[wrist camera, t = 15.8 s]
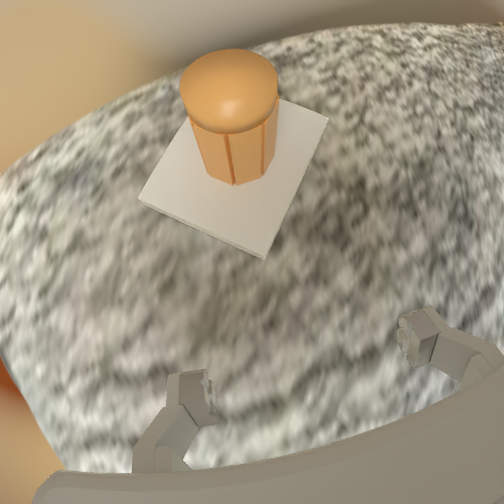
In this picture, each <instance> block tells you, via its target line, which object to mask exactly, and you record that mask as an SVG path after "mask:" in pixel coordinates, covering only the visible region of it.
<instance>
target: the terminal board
mask: <svg viewBox="0 0 504 504" xmlns="http://www.w3.org/2000/svg"><path fill="white" fill-rule="evenodd" d="M328 121H329V118H328V117H326V116H324V115H321V114H319V113H316V112H314V111H312V110H309V109H307V108H304V107H301V106H299V105H296V104H294V103H291V102H288V101H286V100H283V99H280V98H279V111H278V122H277V132H276V143H275V153H274V157H273V159H272V161H271V163H270V165H269V166H268V168H267V170H266V172H265V174H264V176H263V175H261V178H259V179H256V180H253V181H250V182H247V183H244V184H241V185H238V186H236V183H234V184H233V186H232V185H230V184H227V183H225V182H223V181H220V180H218V179H215V178H213V177H211V176H210V175H209V174H207V171H206V168H205V165H204V162H203V159H202V156H201V153H200V150H199V147H198V144H197V141H196V138H195V135H194V132H193V130H192V127H191V124H190V121H189V118H188V117H187V118H186V120H185V121H184V123H183V124H182V126H181V127H180V129H179V130H178V132H177V133H176V135H175V137H174V138H173V140H172V141H171V143H170V144H169V146H168V148H167V149H166V151H165V152H164V154H163V156H162V157H161V159H160V160H159V162H158V164H157V165H156V167H155V169H154V170H153V172H152V174H151V175H150V177H149V179H148V181H147V182H146V184H145V186H144V188H143V189H142V191H141V193H140V195H139V196H138V199H139V200H140V201H141V202H142V203H143V204H144V205H145V206H148V207H150V208H152V209H154V210H156V211H158V212H161V213H163V214H165V215H167V216H169V217H171V218H174V219H176V220H178V221H180V222H182V223H184V224H186V225H189V226H191V227H193V228H195V229H197V230H199V231H202V232H204V233H206V234H208V235H210V236H212V237H215V238H217V239H219V240H221V241H223V242H226V243H228V244H230V245H232V246H234V247H236V248H239V249H241V250H243V251H245V252H247V253H249V254H252V255H254V256H256V257H258V258H260V259H262V260H265V259H266V257H267V255H268V253H269V251H270V249H271V246H272V244H273V242H274V240H275V238H276V236H277V234H278V231H279V229H280V227H281V225H282V223H283V221H284V219H285V216H286V214H287V212H288V210H289V208H290V206H291V203H292V201H293V199H294V197H295V195H296V193H297V190H298V188H299V186H300V184H301V182H302V180H303V177H304V175H305V173H306V171H307V169H308V166H309V164H310V162H311V160H312V158H313V155H314V153H315V151H316V149H317V147H318V144H319V142H320V140H321V138H322V136H323V133H324V131H325V129H326V126H327V123H328Z"/></svg>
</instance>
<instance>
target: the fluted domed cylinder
mask: <svg viewBox="0 0 504 504" xmlns="http://www.w3.org/2000/svg"><path fill="white" fill-rule="evenodd" d="M277 87H278V76H277V73H276V70H275V68H274V67H273V65H272V64H271V63H270V62H269V61H268V60H267V59H265V58H264V57H262V56H261V55H259V54H257V53H254V52H251V51H247V50H242V49H224V50H218V51H214V52H211V53H208V54H206V55H204V56H202V57H200V58H198V59H197V60H195V61H194V62H193V63H192V64H191V65H190V66H189V67H188V68H187V69H186V71H185V72H184V74H183V76H182V78H181V81H180V93H181V97H182V100H183V103H184V106H185V109H186V111H187V115H188V118H189V121H190V124H191V127H192V130H193V132H194V135H195V138H196V141H197V144H198V147H199V150H200V153H201V156H202V159H203V162H204V165H205V168H206V171H207V174H209V175H210V176H211V177H213V178H215V179H218V180H220V181H223V182H225V183H227V184H230V185H232V186H233V184H234V183H236V186H238V185H241V184H244V183H247V182H250V181H253V180H256V179H259V178H261V175H263V176H264V174H265V172H266V170H267V168H268V166H269V165H270V163H271V161H272V159H273V157H274V153H275V143H276V132H277V122H278V111H279V95H278V93H277Z"/></svg>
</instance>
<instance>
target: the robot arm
mask: <svg viewBox="0 0 504 504" xmlns="http://www.w3.org/2000/svg"><path fill="white" fill-rule="evenodd" d="M398 323H399V325H400V328H399V329H398V330H397V341H398V344H399V347H400V348H401V350H402V351H404V352H406V353H407V360H408V361H409V363H410V365H411V366H412V368H413V369H414V368H417V367H420V366H422V365H425V364H427V363H430V364H431V365H433V366H435V367H436V368H438V369H440V370H441V371H443V372H445V373H446V374H448V375H450V376H451V377H453V378H455V379H456V380H458V381H460V384H459V386H458V388H457V390H456V393H455V394H453V395H451V396H449V397H447V398H445V399H443V400H441V401H439V402H437V403H435V404H433V405H431V406H428V407H426V408H424V409H422V410H420V411H417V412H415V413H413V414H410V415H408V416H406V417H403V418H401V419H399V420H396V421H394V422H391V423H388V424H386V425H383V426H381V427H378V428H375V429H373V430H370V431H367V432H364V433H361V434H358V435H355V436H352V437H349V438H346V439H343V440H340V441H337V442H333V443H330V444H327V445H323V446H320V447H316V448H312V449H309V450H305V451H301V452H297V453H293V454H289V455H284V456H280V457H275V458H270V459H266V460H260V461H255V462H250V463H244V464H238V465H231V466H224V467H217V468H209V469H200V470H192V469H191V468H190V467H189V466H188V465H187V464H186V463H185V462H184V461H183V460H182V459H183V457H184V456H185V454H186V452H187V450H188V448H189V446H190V444H191V442H192V441H193V439H194V437H195V435H196V433H197V431H198V429H199V428H198V427H204V426H210V425H215V424H218V412H217V409H216V407H215V403H216V402H217V401H216V393H215V389H214V386H213V383H212V381H211V380H209V379H208V373H207V371H206V369H201V370H194V371H188V372H181V373H175V374H169V376H168V380H167V399H166V407H163V408H162V409H161V411H160V412H159V413H158V415H157V416H156V418H155V419H154V420H153V422H152V423H151V424H150V426H149V427H148V428H147V430H146V431H145V432H144V434H143V435H142V436H141V438H140V439H139V440H138V442H137V443H136V445H135V446H134V447H133V460H132V473H94V472H79V471H68V470H58V471H56V472H55V473H53V474H52V475H51V476H50V477H49V478H48V479H47V480H46V481H45V482H44V483H43V484H42V485H41V486H40V487H39V488H38V489H37V491H36V492H35V494H34V497H33V500H32V503H31V504H504V356H503V354H502V353H501V352H500V351H499V349H498V348H497V347H496V346H495V344H492V343H490V342H487V341H485V340H483V339H480V338H478V337H475V336H473V335H470V334H468V333H465V332H463V331H460V330H458V329H455V328H451V329H450V327H449V326H448V325H447V324H446V322H445V321H444V320H443V319H442V318H441V316H440V315H439V314H438V313H437V312H436V310H435V309H434V308H433V307H432V306H427V307H424V308H422V309H419V310H416V311H413V312H411V313H408V314H405V315H403V316H401V317H400V318H399V322H398Z"/></svg>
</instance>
